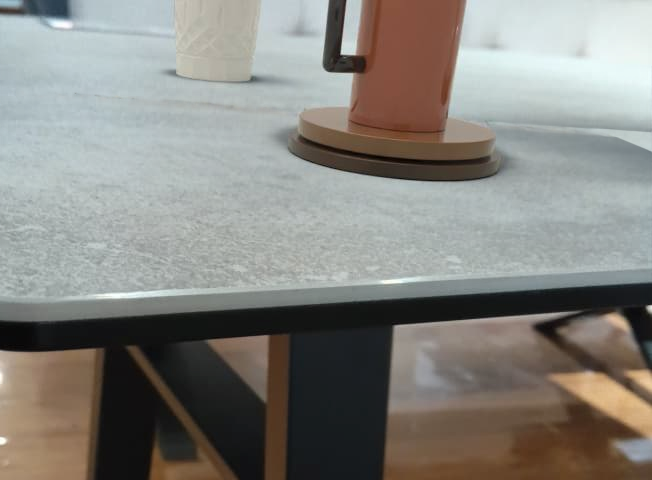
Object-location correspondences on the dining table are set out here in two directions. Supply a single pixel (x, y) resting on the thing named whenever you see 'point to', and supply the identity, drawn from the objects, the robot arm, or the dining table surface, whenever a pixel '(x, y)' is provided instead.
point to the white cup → (216, 38)
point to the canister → (398, 84)
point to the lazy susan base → (392, 162)
